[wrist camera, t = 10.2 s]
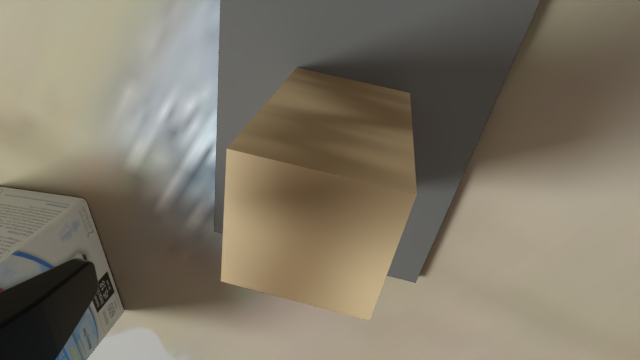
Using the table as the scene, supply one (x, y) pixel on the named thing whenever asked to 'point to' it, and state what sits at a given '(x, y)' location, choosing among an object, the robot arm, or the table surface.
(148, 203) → the table surface
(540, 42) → the table surface
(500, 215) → the table surface
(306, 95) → the tan wooden block
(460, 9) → the mat
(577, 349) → the table surface
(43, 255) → the light bulb box
